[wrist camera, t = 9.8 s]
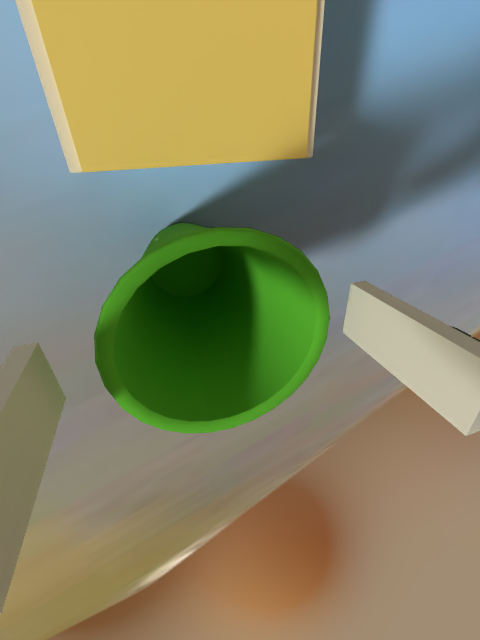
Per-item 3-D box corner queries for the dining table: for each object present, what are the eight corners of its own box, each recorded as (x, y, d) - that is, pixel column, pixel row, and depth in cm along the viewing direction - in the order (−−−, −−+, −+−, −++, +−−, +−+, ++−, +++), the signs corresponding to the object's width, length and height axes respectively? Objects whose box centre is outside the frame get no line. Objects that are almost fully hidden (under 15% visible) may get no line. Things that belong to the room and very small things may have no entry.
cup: (257, 203, 19) (365, 246, 10) (233, 319, 23) (295, 423, 14) (113, 175, 16) (86, 204, 7) (114, 315, 20) (98, 448, 11)
